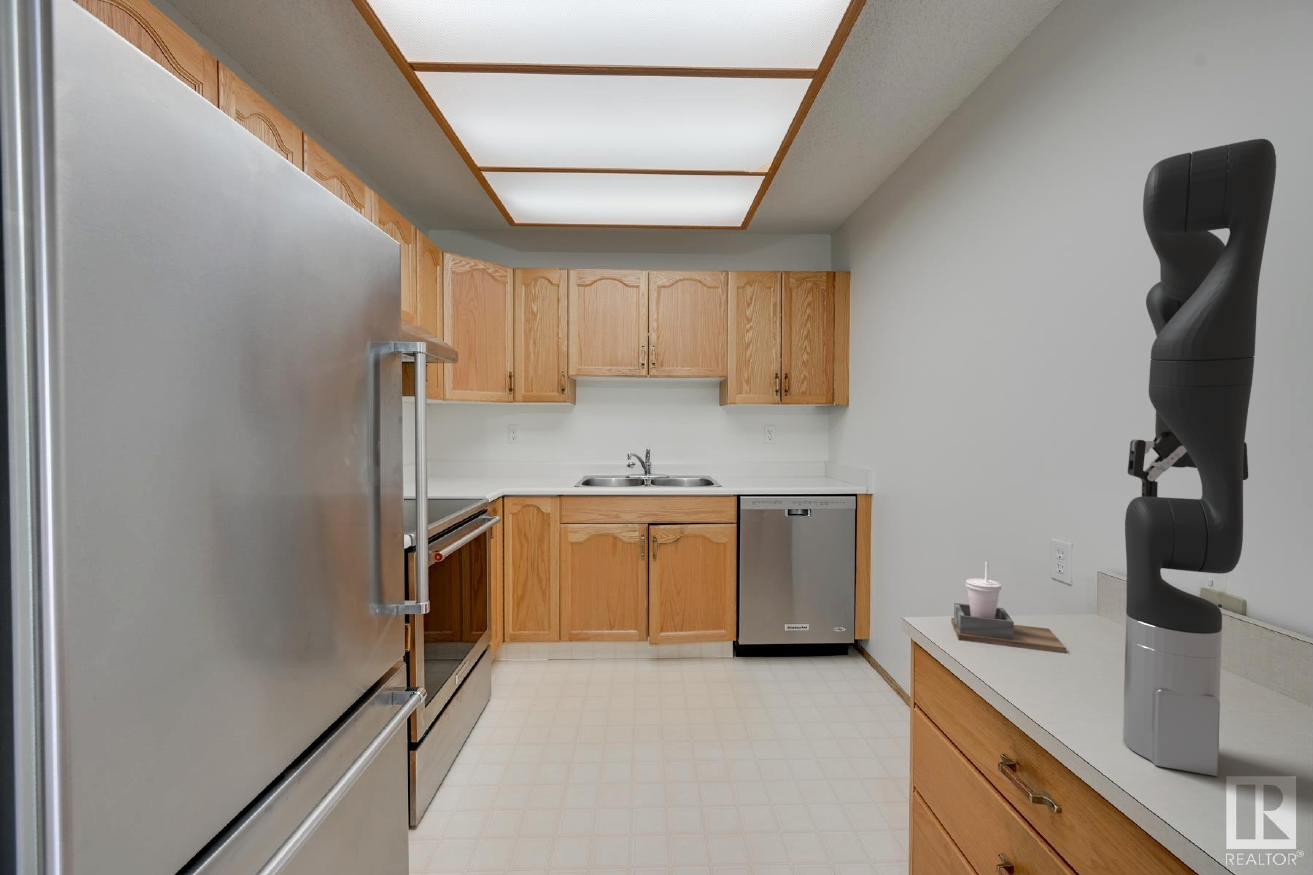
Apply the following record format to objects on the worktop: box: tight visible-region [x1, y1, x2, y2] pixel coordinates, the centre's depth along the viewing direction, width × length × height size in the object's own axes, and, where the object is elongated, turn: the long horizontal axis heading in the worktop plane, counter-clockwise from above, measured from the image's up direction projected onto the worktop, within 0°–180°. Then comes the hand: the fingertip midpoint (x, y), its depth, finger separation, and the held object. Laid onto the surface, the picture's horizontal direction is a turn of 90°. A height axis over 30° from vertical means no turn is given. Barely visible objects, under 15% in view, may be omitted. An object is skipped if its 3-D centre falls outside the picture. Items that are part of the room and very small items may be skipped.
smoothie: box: [965, 561, 1002, 619], centre depth 117 cm, size 6×6×14 cm
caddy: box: [950, 602, 1067, 654], centre depth 116 cm, size 11×18×4 cm, turn 69°
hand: (1184, 505), depth 91 cm, fingers open, 8 cm apart
